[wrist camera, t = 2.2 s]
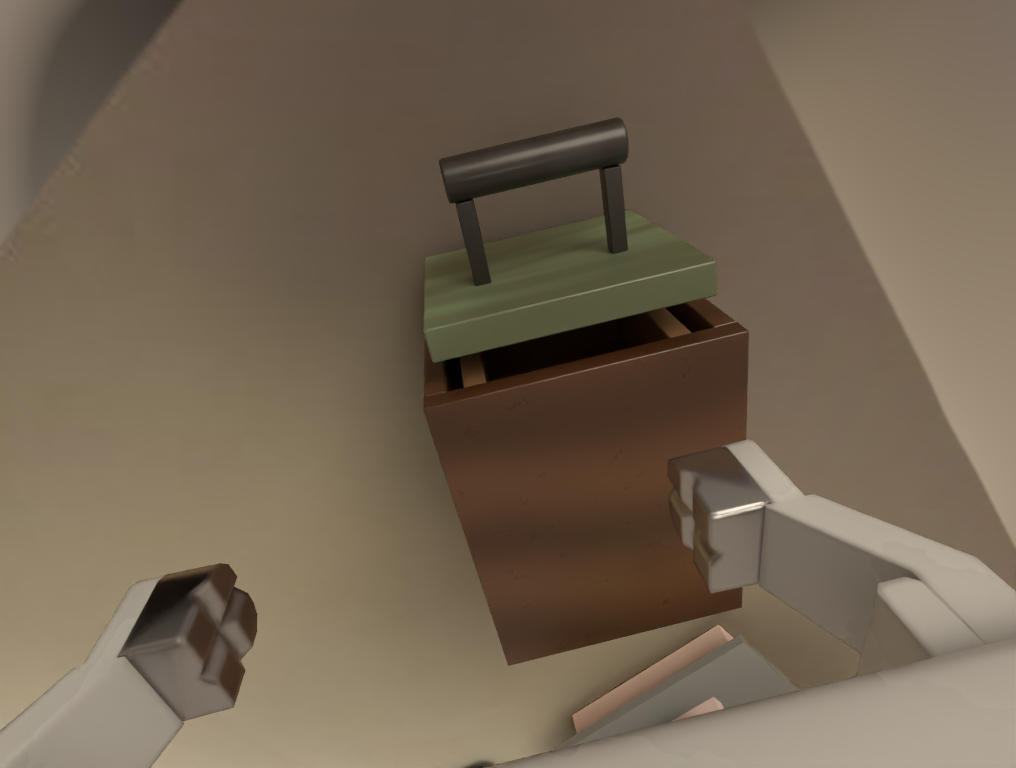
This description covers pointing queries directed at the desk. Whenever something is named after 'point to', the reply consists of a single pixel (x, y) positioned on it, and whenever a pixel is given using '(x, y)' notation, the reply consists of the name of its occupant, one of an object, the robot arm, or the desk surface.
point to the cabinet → (589, 482)
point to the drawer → (554, 266)
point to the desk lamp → (683, 688)
